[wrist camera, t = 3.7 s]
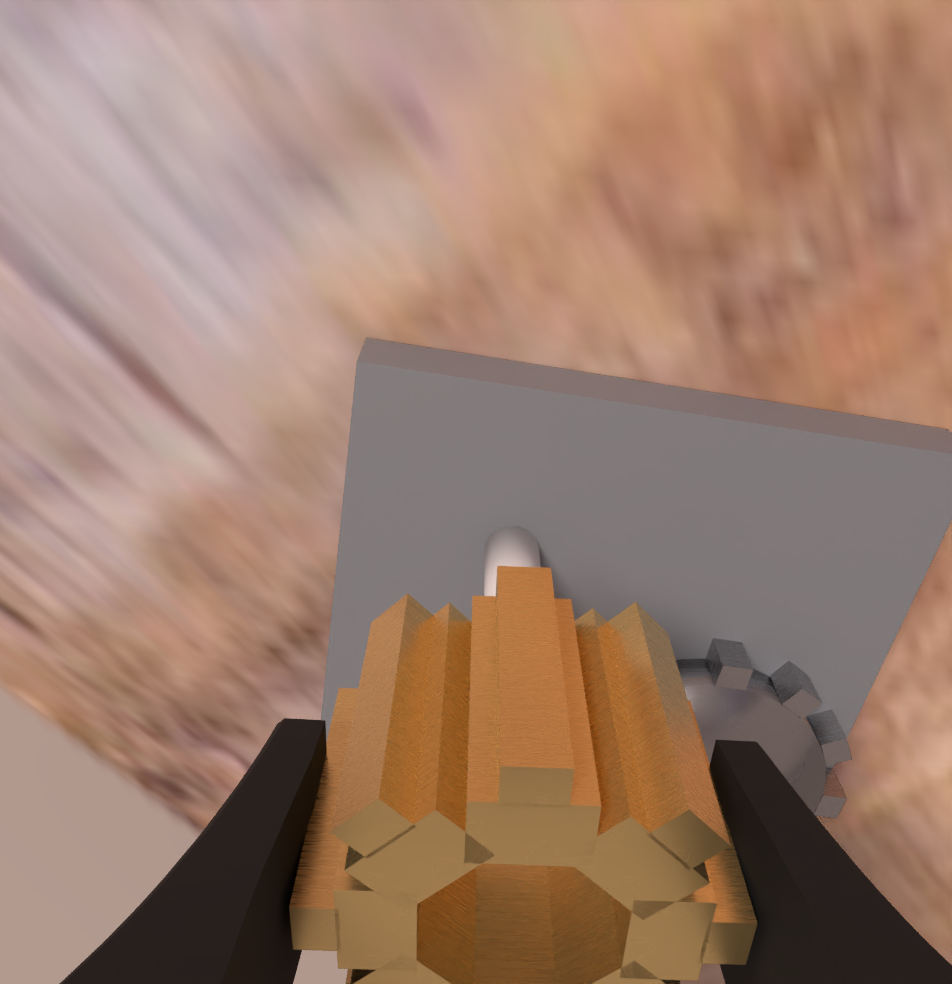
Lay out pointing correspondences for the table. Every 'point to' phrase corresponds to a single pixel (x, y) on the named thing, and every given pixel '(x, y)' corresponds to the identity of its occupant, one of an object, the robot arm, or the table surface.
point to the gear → (769, 719)
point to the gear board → (636, 511)
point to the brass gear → (519, 805)
